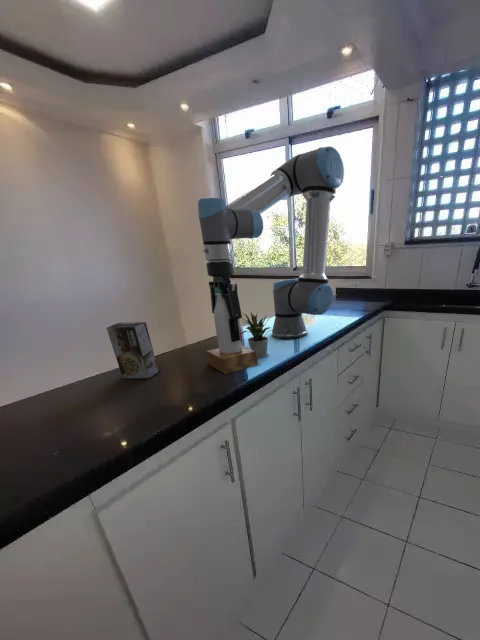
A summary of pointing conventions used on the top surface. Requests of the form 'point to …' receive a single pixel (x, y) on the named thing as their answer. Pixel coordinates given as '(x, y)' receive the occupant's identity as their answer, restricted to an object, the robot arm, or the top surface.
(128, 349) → the food box
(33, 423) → the top surface
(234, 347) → the milk bottle
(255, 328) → the house plant
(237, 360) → the oak block
